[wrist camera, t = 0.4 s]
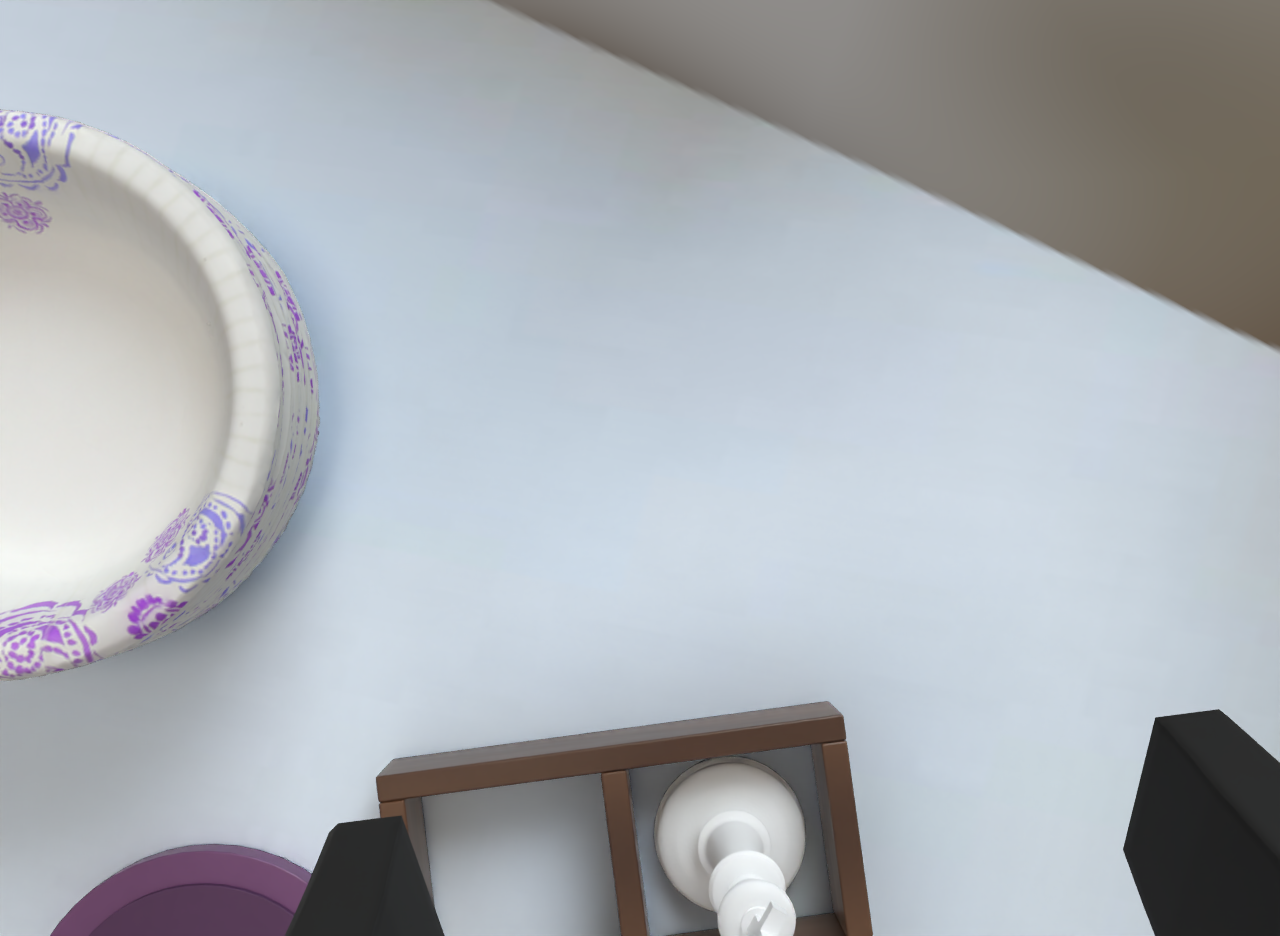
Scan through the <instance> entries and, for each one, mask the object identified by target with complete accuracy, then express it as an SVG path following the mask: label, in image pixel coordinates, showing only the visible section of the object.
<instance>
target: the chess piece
mask: <svg viewBox="0 0 1280 936" xmlns="http://www.w3.org/2000/svg"><path fill="white" fill-rule="evenodd" d="M654 841H655V848H656V852H657V856H658V859H659V862H660V864H661V866H662V868H663V870H664V872H665V874H666V875H667V877H668V878H669V880H670V881H671V883H672V884H673V885H674V887H675V888H676V889H677V890H678V891H679V892H680V893H681V894H682V895H683V896H684V897H686V898H687V899H688V900H690V901H691V902H693V903H694V904H696V905H698V906H700V907H702V908H705V909H708V910H711V911H715V912H716V913H717V914H718V918H717V920H718V929H719V932H720V935H721V936H793V934H794V931H795V926H796V915H795V910H794V907H793V904H792V902H791V900H790V899H789V897H788V896H787V894H786V893H785V892H786V889H787V888H788V886H789V885H790V884H791V882H792V881H793V880H794V878H795V876H796V875H797V873H798V871H799V868H800V866H801V863H802V860H803V856H804V852H805V844H806V831H805V820H804V816H803V812H802V809H801V806H800V803H799V801H798V799H797V797H796V795H795V793H794V792H793V790H792V789H791V787H790V786H789V785H788V784H787V782H786V781H785V780H784V779H783V778H782V777H781V776H780V775H778V774H777V773H776V772H775V771H773V770H772V769H770V768H769V767H767V766H765V765H763V764H761V763H759V762H756V761H754V760H750V759H746V758H741V757H718V758H713V759H709V760H706V761H703V762H701V763H698V764H696V765H694V766H693V767H691V768H689V769H688V770H686V771H685V772H684V773H682V774H681V775H680V776H679V777H678V778H677V779H676V780H675V781H674V782H673V783H672V784H671V786H670V787H669V788H668V790H667V791H666V793H665V795H664V796H663V798H662V800H661V802H660V805H659V808H658V811H657V814H656V819H655V825H654Z"/></svg>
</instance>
